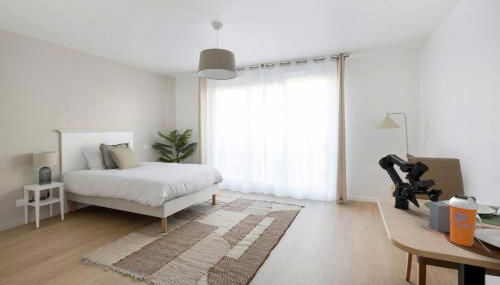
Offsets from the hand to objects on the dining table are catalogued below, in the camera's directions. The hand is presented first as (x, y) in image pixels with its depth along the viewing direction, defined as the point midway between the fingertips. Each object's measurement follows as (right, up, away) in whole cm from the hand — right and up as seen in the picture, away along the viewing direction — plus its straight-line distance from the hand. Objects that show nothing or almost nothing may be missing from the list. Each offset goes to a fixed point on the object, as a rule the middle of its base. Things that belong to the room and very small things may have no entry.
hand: (428, 207), depth 119 cm
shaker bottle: (-2, -9, -21) cm, 23 cm away
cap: (-1, -8, -8) cm, 11 cm away
